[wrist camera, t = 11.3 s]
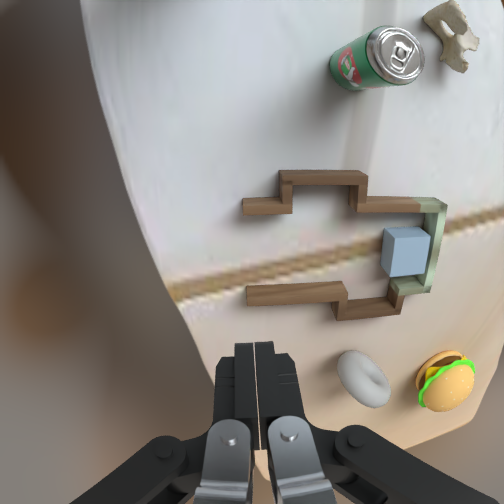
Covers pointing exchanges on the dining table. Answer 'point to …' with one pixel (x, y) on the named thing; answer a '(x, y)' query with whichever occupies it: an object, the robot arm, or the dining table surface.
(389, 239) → the block
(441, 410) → the toy cheeseburger
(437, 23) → the bone
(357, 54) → the soda can
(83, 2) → the dining table surface
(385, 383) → the donut
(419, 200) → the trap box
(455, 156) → the dining table surface
